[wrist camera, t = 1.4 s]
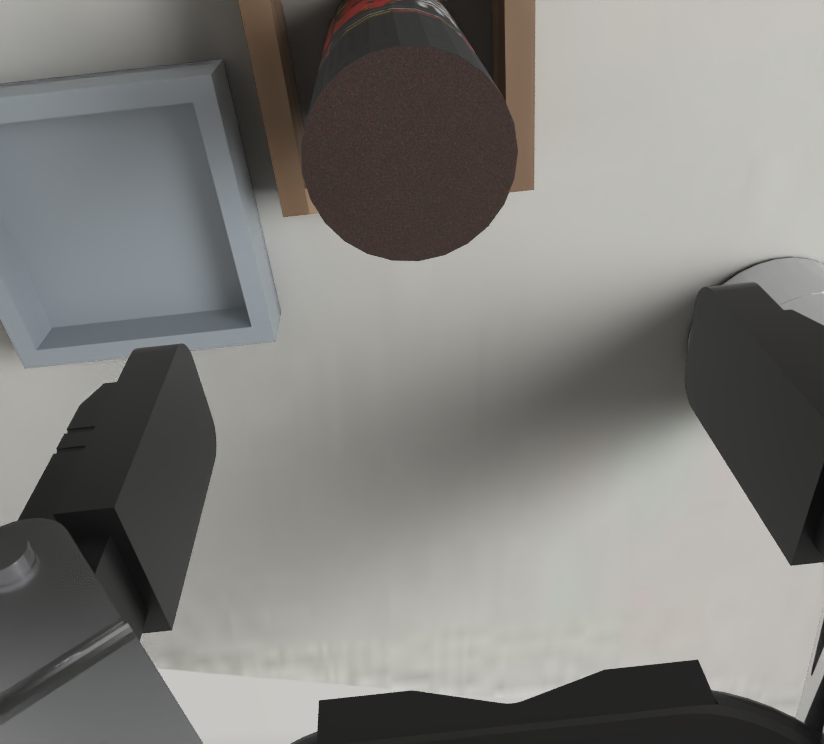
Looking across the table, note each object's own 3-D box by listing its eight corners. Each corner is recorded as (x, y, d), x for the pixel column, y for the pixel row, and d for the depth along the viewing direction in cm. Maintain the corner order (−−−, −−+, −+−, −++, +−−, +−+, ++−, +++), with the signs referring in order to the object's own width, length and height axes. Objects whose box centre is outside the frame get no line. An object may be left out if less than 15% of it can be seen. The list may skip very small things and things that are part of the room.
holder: (518, -117, 28) (536, -116, 25) (520, 164, 35) (534, 189, 32) (235, -85, 28) (221, -80, 26) (289, 189, 35) (283, 216, 32)
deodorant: (471, -9, 30) (544, 66, 18) (443, 129, 34) (489, 273, 21) (333, -36, 30) (311, 23, 17) (319, 109, 33) (291, 246, 21)
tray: (222, 59, 31) (210, 74, 29) (281, 312, 39) (275, 341, 36) (-68, 91, 32) (-104, 109, 29) (46, 337, 39) (24, 368, 36)
